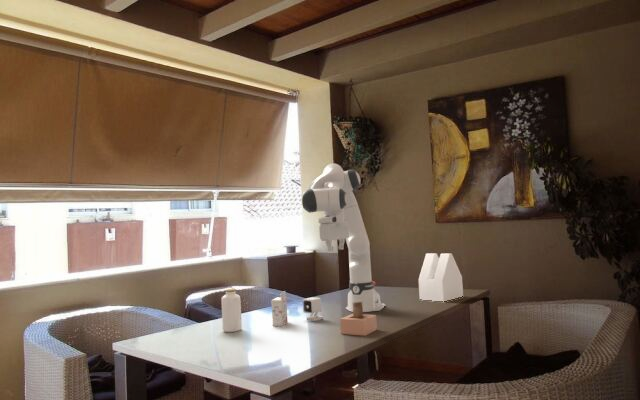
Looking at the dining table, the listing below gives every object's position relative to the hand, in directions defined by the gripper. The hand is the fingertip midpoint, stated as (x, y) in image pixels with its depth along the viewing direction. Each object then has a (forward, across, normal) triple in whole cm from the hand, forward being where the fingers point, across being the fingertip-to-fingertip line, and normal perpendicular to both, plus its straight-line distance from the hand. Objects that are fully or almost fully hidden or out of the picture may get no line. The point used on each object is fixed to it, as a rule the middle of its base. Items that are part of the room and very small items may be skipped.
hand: (335, 250), depth 214 cm
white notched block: (+33, -80, +20) cm, 89 cm away
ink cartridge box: (+34, +3, -30) cm, 45 cm away
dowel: (+33, +6, +12) cm, 36 cm away
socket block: (+33, +6, +12) cm, 36 cm away
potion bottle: (+34, +21, -43) cm, 58 cm away
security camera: (+33, -10, -20) cm, 40 cm away
